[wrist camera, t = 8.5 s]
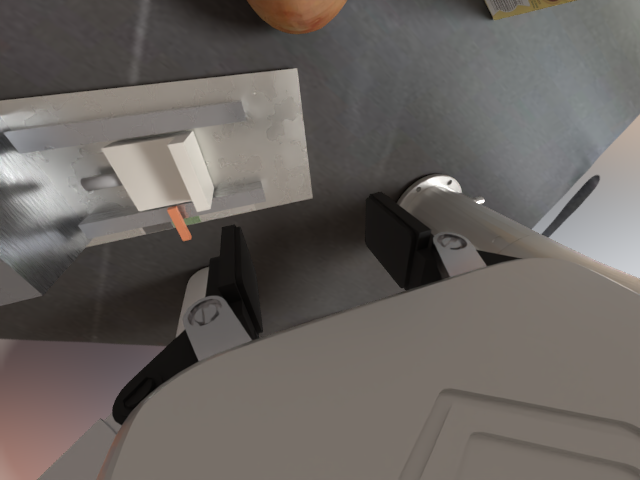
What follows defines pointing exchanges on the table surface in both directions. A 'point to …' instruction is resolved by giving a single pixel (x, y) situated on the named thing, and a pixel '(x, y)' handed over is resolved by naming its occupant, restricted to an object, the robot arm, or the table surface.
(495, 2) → the candy box
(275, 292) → the table surface
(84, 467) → the robot arm
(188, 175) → the white stepped block
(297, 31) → the potato
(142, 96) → the bench
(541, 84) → the table surface
